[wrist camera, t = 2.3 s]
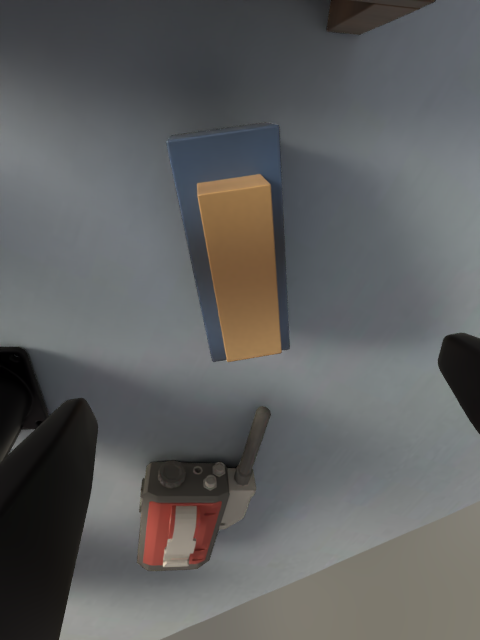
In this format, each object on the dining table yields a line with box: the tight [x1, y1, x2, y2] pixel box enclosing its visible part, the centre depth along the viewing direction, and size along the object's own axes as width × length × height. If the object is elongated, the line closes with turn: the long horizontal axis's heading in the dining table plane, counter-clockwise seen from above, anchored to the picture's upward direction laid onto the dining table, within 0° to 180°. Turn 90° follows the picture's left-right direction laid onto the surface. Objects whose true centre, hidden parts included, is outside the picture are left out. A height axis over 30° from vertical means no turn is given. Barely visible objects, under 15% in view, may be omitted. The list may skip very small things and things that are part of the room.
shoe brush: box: [166, 122, 290, 362], centre depth 15 cm, size 10×4×6 cm, turn 7°
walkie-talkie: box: [137, 406, 271, 571], centre depth 27 cm, size 9×4×20 cm
